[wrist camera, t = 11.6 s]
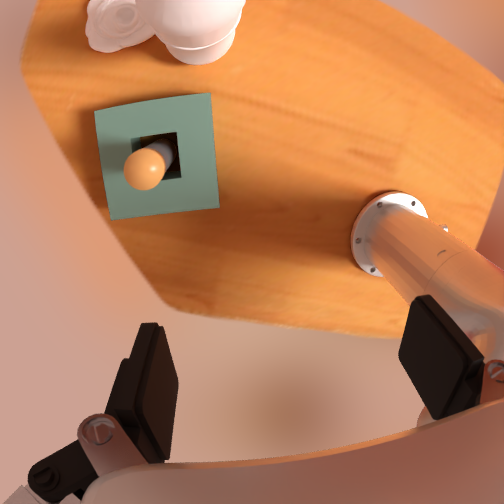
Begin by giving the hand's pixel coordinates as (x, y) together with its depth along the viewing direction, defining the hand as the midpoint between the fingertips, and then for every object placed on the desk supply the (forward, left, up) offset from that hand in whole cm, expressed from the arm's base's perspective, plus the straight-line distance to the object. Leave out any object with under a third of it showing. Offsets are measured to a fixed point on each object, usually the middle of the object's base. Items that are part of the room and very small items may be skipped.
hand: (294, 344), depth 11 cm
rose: (+11, -21, -29) cm, 38 cm away
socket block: (+8, -4, -28) cm, 30 cm away
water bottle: (+3, -17, -29) cm, 33 cm away
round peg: (+8, -4, -29) cm, 30 cm away
